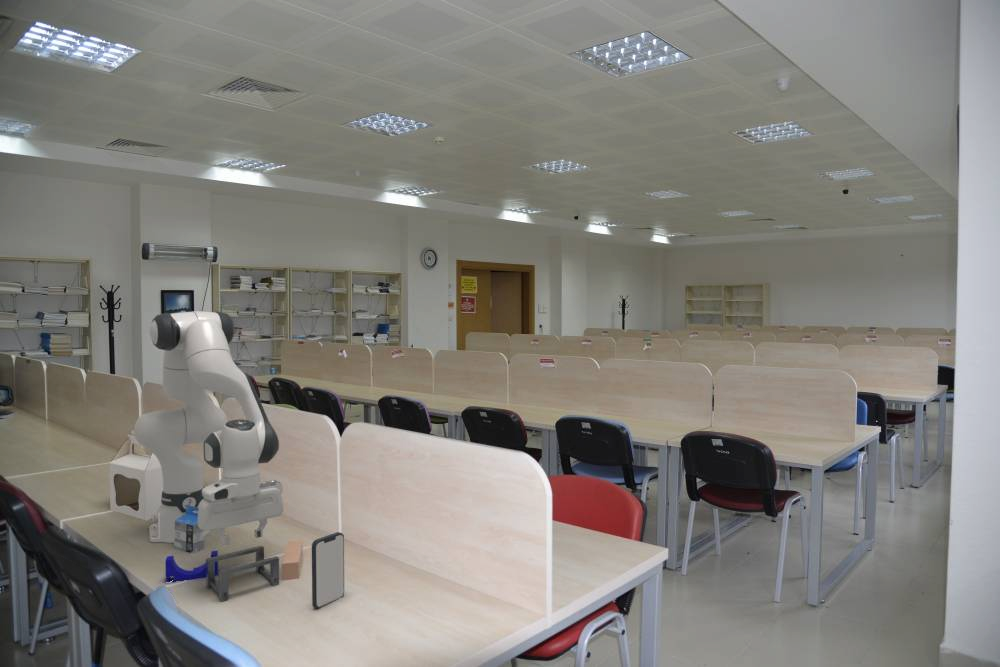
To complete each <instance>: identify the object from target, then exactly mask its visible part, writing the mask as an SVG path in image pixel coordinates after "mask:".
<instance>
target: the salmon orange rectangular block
mask: <svg viewBox="0 0 1000 667" xmlns="http://www.w3.org/2000/svg"><path fill="white" fill-rule="evenodd" d="M303 548H304V547H303V540H293V541H287V543H286V546H285V551H284V554H283V559H282V564H281V570H282V571H281V574H282V575H281V576H282V581H289V580H297V579H299V578H300V573H301V567H302V562H303V561H302V559H303V550H304V549H303Z"/></svg>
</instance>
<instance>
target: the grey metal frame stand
mask: <svg viewBox="0 0 1000 667" xmlns="http://www.w3.org/2000/svg"><path fill="white" fill-rule="evenodd" d="M254 553H255V561H254V562H249V563H243V564H241V565H237V566H233V567H229V568H224V569H221V570H218V582H217V581H216V576H215V562H217V561H218V562H222V561H225V560H229V559H234V558H237V557H241V556H245V555H249V554H250V555H251V554H254ZM210 557H211V556H210ZM210 557H207V558H205V563H206V579H205V580H206V581H205V583H206V584H205V585H206V586H205V587H206V588H208V589H210V588H213V589H214V590H215V591H216V593H218V596H219V597H218V598H219V599H218V600H219V602H221V603H222V602H226V601H229V575H231V574H234V573H238V572H239V573H240V572H243V571H246V570H250V569H255V572H256V573H257V574H262V575H264V576H265V577H266V578H267V579H269V580H270V586H272V587H276V586H279V585H280V557H278V556H272V557H269V558H265V547H264V546H263V545H258V546H257V545H256V546H253V547H249V548H246V549H241V550H238V551H237V550H236V551H233V552H228V553H224V554H219V555H218V556H215V557H211V558H210ZM269 564H270V565H269ZM266 565H269V566H270V567H269V568H270V569H267V568H266V567H265V566H266Z"/></svg>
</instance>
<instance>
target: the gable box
mask: <svg viewBox="0 0 1000 667" xmlns="http://www.w3.org/2000/svg"><path fill="white" fill-rule="evenodd" d="M127 436H128V438H127V439H126V440H125V441H124V442H123V444H122V445H121V446H120V448H119V449H118V450H117V452H116V453H115V455H114V456H113V458H112V459H111V461H110V462H109V466H108V467H109V498H110V499H109V501H110V502H109V505H110V506H109V507H110V508H109V510H110V511H114V512H116V513H120V514H123V515H127V516H129V517H133V518H135V519H139V520H143V521H149V520H151V515H157V510H158V509H159V507H160V506H161V504H162V503H161V495H162V491H163V475H162V468H161V465H160V462H159V460H158V459H157V457H156V456H155V455H154V454H153V453H152V452H151V455H148V454H147V453H146V451H145V450H144V447H143V446H142V445H141V444H139V442H138V441H137V440H136V438H135V435H134V429H133V430H131V433H127ZM135 503H138V510H136V509H134V508H133V507H131V506H130V505H132V504H135Z"/></svg>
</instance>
